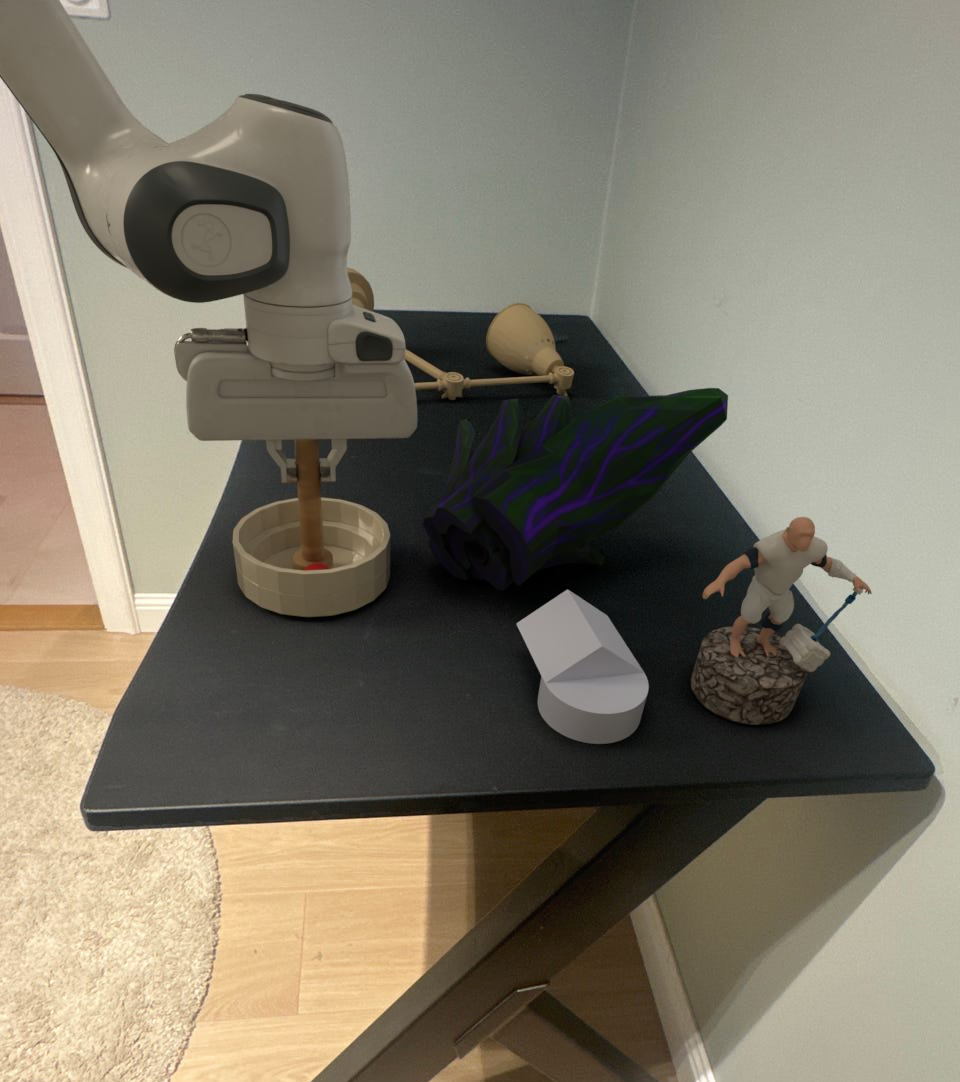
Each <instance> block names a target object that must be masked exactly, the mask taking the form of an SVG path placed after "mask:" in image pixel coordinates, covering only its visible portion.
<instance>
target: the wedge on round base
mask: <svg viewBox="0 0 960 1082" xmlns="http://www.w3.org/2000/svg"><path fill="white" fill-rule="evenodd" d="M516 627H517V628H518V630H519V632H520V635H521V637H522V639H523V641H524V643H525V645H526V647H527V649H528V651H529V654H530V656H531V658H532V659H533V662H534V664H535V666H536V668H537V670H538V672H539V674H540V676H541V677H540V682H539V689H538V694H537V709H538V712H539V715H540V716H541V718H542V719H543V721H544V722H545V723H546V724H547V725H548V726H549V727H550V728H552V730H554V731H555V732H557V733H559V734H560V735H562V736H563V737H566V738H568V739H571V740H574V741H577V742H580V743H581V742H582V743H584V744H585V743H586V744H592V745H593V744H594V745H605V744H613V743H616V742H617V743H618V742H620V741H622V740H625V739H626V738H628V737H631V735H633V734H634V733H635V732H636V730H638V727H639V725H640V723H641V720H642V714H643V712H644V707H645V706H646V701H647V697H648V693H649V688H650V685H649V679H648V677H647V675H646V673H645V671H644V669H643V668H642V667H641V664H640V663H639V662H638V660H637V659H636V657H635V656H634V654H633V652H632V651H631V650H630V648H629V647H628V646H627V644H626V641H624V639H623V637H622V636H621V634H620V633H619V631H618V630H617V628H616V627H615V625H614V623H613V622H612V621H611V619H610V617H609V616H608V614H606V613H604V612H602V611H601V610H599V608H597V607H595V606H594V605H592V604H591V603H589V602H588V601H586V600H584V598H583V597H580V596H579V595H578V594H576V593H575V592H572V591H571V590H569V589H566V590H564V591H563V592H560V594H558V595H557V596H555V597H554V598H552V599H551V600H549V601H548V602H546V603H545V604H543V605H542V606H540V607H539V608H537V609H536V610H535V611H533V612H531V613H530V614H528V615H527V616H526V617H524V618H522V619H521V620H519V621H518V622H516Z"/></svg>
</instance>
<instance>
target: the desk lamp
mask: <svg viewBox="0 0 960 1082" xmlns="http://www.w3.org/2000/svg"><path fill="white" fill-rule="evenodd" d="M347 272H348V277H349V280H350V284H351V288H352V305H355V306H358V307H361V308H363V309H366V310H369V311H372V312H375V311H374V310H375V295H374V292H373V288H372V286H371V284H370V282H369V280H368V279H367V278H366V277H365V276H364V275H363V274H361V272H359V271H358V270H356V269H355V268H351V267H348V266H347ZM485 337H486V338H485V344H486V349H487V352H488V354H489V355H490V356H491V357H492V358H494V359H495V360H496V361H498V362H499V363H500V364H501V365H502V366H503V367H505V368H506V369H507V370H509V371H511V372H514V373H515V374H516V373H517V374H520V375H524V376H517V377H516V376H515V377H514V376H513V377H497V378H495V377H494V378H481V379H479V378H478V379H470V377H465V378H464V375H462V374H461V373H459V372H455V371H450V372H446V371H443V370H441V369H439V368H438V367H436V366H434V365H433V364H431V363H429V362H428V361H426V360H425V359H423V358H422V357H420V356H418V355H416V354H415V353H413V352H411V350H408V349H407V348H406V349H405V357H404V359H405V361H406V362H408V363H409V364H411V365H413V366H414V367H416V368H418V369H419V370H421V371H422V372H424V373H426V374H427V375H429V376H430V377H432V378H433V379H435V380H436V381H431V382H430V381H428V382H414V385H415V391H424V390H426V391H427V390H437V391H438V392H441V391H442V390H443V394H442V395H441V399H446V398H447V399H448V400H451V401H454V400H456V399H457V398H463V389H466V390H470V389H471V387H472V388H473V387H487V386H489V387H490V386H505V385H506V386H507V385H519V384H520V385H521V384H536V383H548V384H549V385H553V388H554V389H556V394H557V395H562V396H568V393H567V391H566V390H569V389H571V388H572V385H573V379H574V375H575V371H574V369H573V368H571V367H568V366H565V363H564V361H563V359H562V357H561V356H560V354H559V353H558V352H557V348H556V341H555V338H554V335H553V331H552V330H551V328H550V327H549V325H548V323H547V322H546V321H545V319H544V318H543V317H542V316H541V315H540V314H538V313H537V312H536V311H535V310H534V309H532V307H531V306H530V305H529V304H527V303H524V302H515V303H512V304H509V305H507V306H506V307H504V308H502V310H500V311H499V312H498V313H497V314H496V315H495V316H494V318H493V320H492V321H491V323H490V325H489V326H488V329H487V332H486V336H485ZM525 375H526V376H525Z"/></svg>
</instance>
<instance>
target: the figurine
mask: <svg viewBox="0 0 960 1082" xmlns="http://www.w3.org/2000/svg"><path fill="white" fill-rule="evenodd" d="M815 534H816V526H815V523H814V521H813V520H812V518H810V517H808V516H799V517H795V518H793V519H792V520H791V522H790V523H789V525H788V526H787V527H786V528H785V529H781V530H778V531H776V532H775V533H772V534H770V535H768V536H766V537H764V538H762V539H760V540H758V541H757V542H755V543H754V544H753V546H752V547H750V548H748V549H747V550H745V551H744V552H743V553H742V555H740V556H739V557H738V558H735V559H734V560H733V561H731V562H729V563H728V564H727V565H726V566H725V567H723V569H722V570H721V572H720V573H719V575H718V577H717V578H716V579H715V580H714V581H712V582H711V583H709V584H708V585H707V586H706V587H705V588H704V590H703V592H702V595H701V596H702V598H703V600H707V599H708V598H709V597H710V596H712V595H714V594H715V593H717V592H719V593H720V596H721V597H722V598H723V597H724V595H725V594H724V593H725V586H726V585H725V584H727V582H729V581H731V580H734V579H735V578H737V576H738V574H739V573H741V572H742V571H744V570H745V569H750V570H753V569H754V575H753V576H752V578H751V582H750V584H749V585H748V587H747V591H746V596H745V597H744V598H743V599H742V602H741V606H740V607H741V608H740V616H738V617H737V618H736V619H735V621H733V625H732V626H725V627H720V628H719V627H718V628H717V629H716V628H715V629H714V630H711V631H710V632H708V633H707V634H706V635H705V636H704V638H703V639H702V641H701V644H700V647H699V651H698V654H697V658H696V660H695V663H694V667H693V670H692V672H691V677H690V688H691V691H692V693H693V695H694V697H695V699H697V700H698V702H699V703H700V704H701V705H702V706H703V707H705V708H706V709H707V710H708V711H710V712H711V713H713V714H715V715H716V716H718V717H721V718H723V719H725V720H728V721H730V722H734V723H737V724H743V725H750V726H763V725H771V724H775V723H779V722H781V721H783V720H784V719H786V718H787V717H788V716H789V715H790V714H791V713H792V712H793V711H792V710H793V709H794V706H795V704H796V703H797V702H796V701H797V700H798V697H799V695H800V692H801V690H802V688H803V685H804V683H805V682H806V681H805V680H806V678H807V676H808V673H813V672H815V671H816V670H817V669H818V667H821V666H822V665H823V664H824V663H825V661H827V659H829V658H830V657H831V652H830V650H829V649H827V648H825V647H824V646H823V645H822V644H821V643H820V642H819V641H818V640H819V637H820V636H821V634H823V632H825V631H826V630H827V628H829V626H830V624H831V623H832V622H833V621H834V620H836V618H837V617H838V616H839V614H841V612H842V611H844V609H846V608H847V606H848V605H852V604H853V602H855V600H856V599H857V595H859V596H861V594H863V592H864V593H865V594H866V593H867V595H872V594H873V593H872V590H871V588H870V587H869V585H868V583H866V582H865V581H863V580H862V578H860V577H859V576H857V574H856V573H854V572H853V571H852V570H851V569H850V568H849V567H847V566H846V565H845V564H844V563H843V561H841V560H839V559H837V558H833V557H831V556H828V555H827V553H828V545H827V544H828V543H827V542H826V541H825V540H824V539H822V538H819V537H817V536H815ZM809 565H812V566H813V567H816V568H821V569H822V570H823V571H824V572H825V573H826V574H827V575H828V577H831V578H837V579H841V580H844V581H845V580H846V581H848V582H849V583H852V585H853V588H852V591H853V592H852V594H849V595H847V597H846V598H845V599H844V603H842V605H841V606H840V607H839V608H838V609H837V610H836V611H834V613H833V614H832V615H831V616H830V617H829V618H828V619H827V620H826V621H825V622H824V624H823V625H822V626H821V627H820V628H818V630H817V631H816V632H815V633H814V632H813V631H812V630H811V629H809V628H807V626H803V625H802V624H800V623H796V624H794V625H793V626H792V627H791V629H789V630H788V631H786V633H785V634H784V635H783V636H782V637H781V636H780V635H778V634H775V633H777V632H780V630H781V628H782V627H783V624H784V622H785V623H786V621H787V620H789V618H790V617H791V616H792V614H793V612H794V609H795V599H794V595H793V591H791V590H790V589H791V588H792V586H793V584H795V582H797V581H798V580H799V579H800V578H801V577H802V575H803V573H804V569H805V568H806V567H808V566H809ZM767 609H768V610H769V613H767V614H766V615H765V616H764V617H763V616H762V614H763V613H764V611H765V610H767ZM762 617H763V619H762ZM760 621H761V623H760V624H761V626H762V628H756V627H750V626H748V625H749V624H752V625H753V624H757V623H759V622H760Z"/></svg>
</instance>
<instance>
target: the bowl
mask: <svg viewBox="0 0 960 1082" xmlns="http://www.w3.org/2000/svg"><path fill="white" fill-rule="evenodd" d="M321 502H322V523H323V544H324V548H325V549H327V550H329V551H330V552H331V553H332V555H333V569H326V570H307V571H304V570H295V569H294V564H293V556H294V554H295V552H297V551H298V550H300V549H302V548H301V534H300V519H299V504H298V497H294V498H289V499H284V500H278V501H274V502H271V503H268V504H266V505H263V506H260V507H257V508H255V509H253V510H252V511H251V512H249V513H247V514H245V516H243V517H242V518H240V520H239V521H238V523H237V524H236V525H235V527H234V528H233V531H232V548H233V555H234V556H233V557H234V563H235V573H236V578H237V585H238V587H239V589H240V590H241V591H242V593H243V595H244V596H245V598H247V599H248V600H250V601H251V602H253V603H254V604H256V605H257V606H258V607H260V608H262V609H264V610H267V611H271V612H274V613H277V614H279V615H286V616H293V617H300V618H301V617H304V618H315V617H316V618H317V617H331V616H336V615H340V614H345V613H348V612H352V611H356V610H358V609H360V608H362V607H364V606H367V605H368V604H370V603H372V602H374V601H375V600H376V599H377V598H378V597H379V596H380V595H381V594H382V593H383V592H384V591H385V590H386V589H387V586H388V583H389V580H390V578H391V537H392V535H391V532H390V529H389V528H390V527H389V524H388V523H387V522H386V521H385V520H384V518H383V517H381V515H380V514H379V513H378V512H376V511H374V510H372V509H370V508H368V507H366V506H364V505H362V504H359V503H356V502H353V501H348V500H345V499H340V498H330V497H322V496H321Z"/></svg>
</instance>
